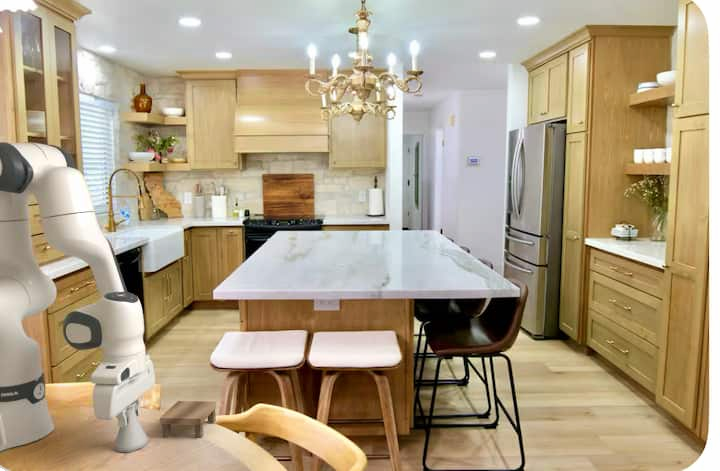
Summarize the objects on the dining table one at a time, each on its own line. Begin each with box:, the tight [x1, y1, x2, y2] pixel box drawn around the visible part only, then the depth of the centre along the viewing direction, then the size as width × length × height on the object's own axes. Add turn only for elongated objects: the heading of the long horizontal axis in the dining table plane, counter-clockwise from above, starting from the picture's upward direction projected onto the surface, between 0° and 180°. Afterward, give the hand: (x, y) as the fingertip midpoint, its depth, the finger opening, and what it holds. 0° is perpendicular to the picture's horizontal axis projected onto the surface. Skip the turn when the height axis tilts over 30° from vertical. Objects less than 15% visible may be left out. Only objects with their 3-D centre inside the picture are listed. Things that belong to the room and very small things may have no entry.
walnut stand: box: [159, 400, 217, 439], centre depth 135 cm, size 10×10×5 cm
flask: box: [113, 402, 150, 453], centre depth 127 cm, size 7×7×10 cm
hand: (129, 421), depth 127 cm, fingers open, 3 cm apart
